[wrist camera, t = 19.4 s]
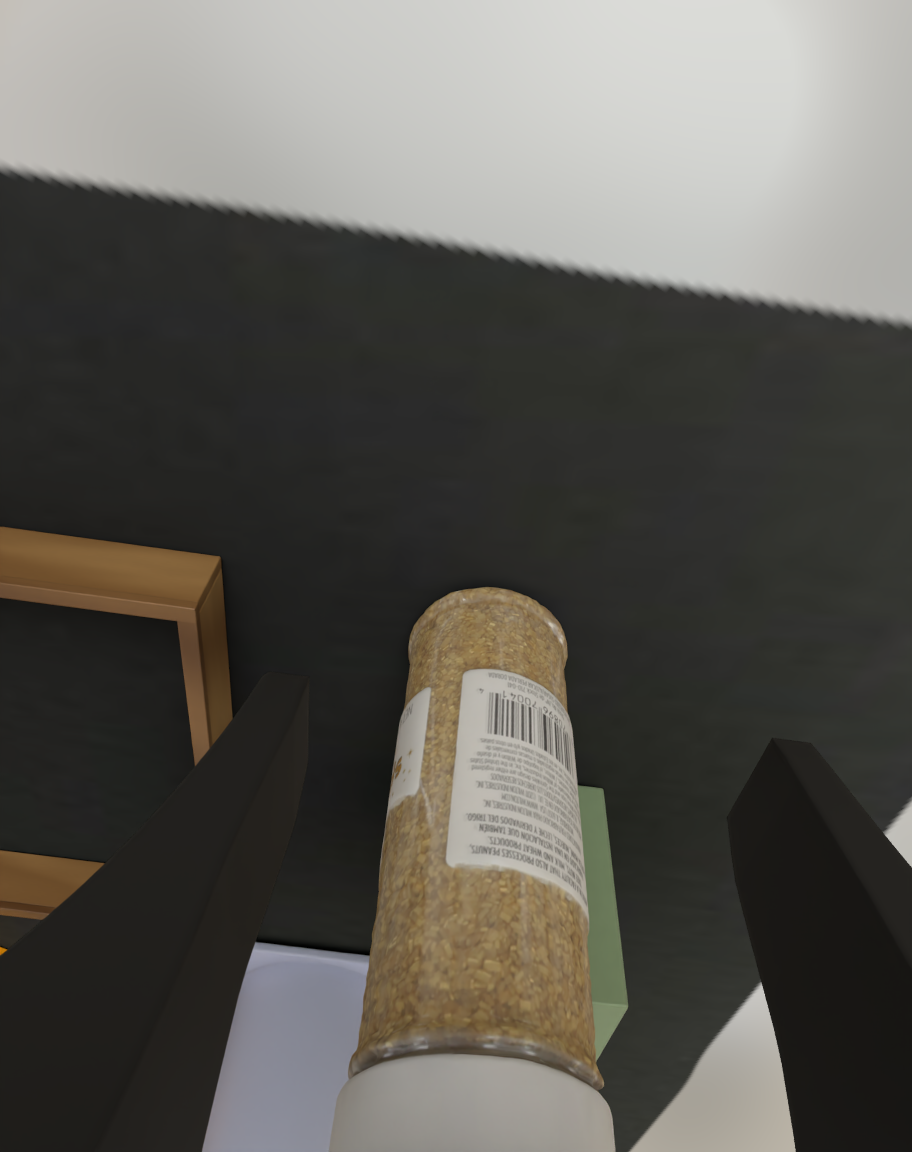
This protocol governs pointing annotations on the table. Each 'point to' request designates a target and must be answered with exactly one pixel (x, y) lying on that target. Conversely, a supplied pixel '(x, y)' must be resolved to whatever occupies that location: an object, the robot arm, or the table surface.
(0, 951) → the orange juice
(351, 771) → the table surface
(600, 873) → the block
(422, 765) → the sprinkles bottle
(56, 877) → the wooden frame
